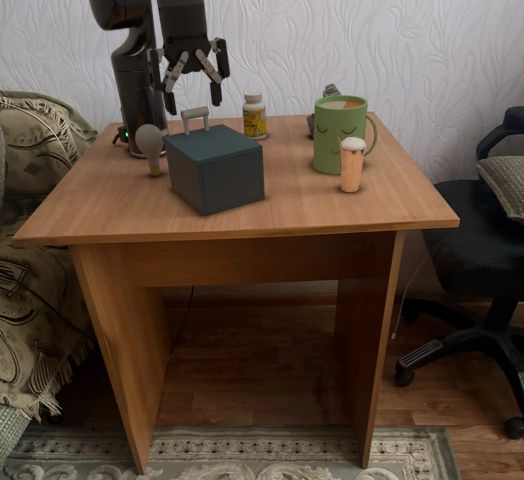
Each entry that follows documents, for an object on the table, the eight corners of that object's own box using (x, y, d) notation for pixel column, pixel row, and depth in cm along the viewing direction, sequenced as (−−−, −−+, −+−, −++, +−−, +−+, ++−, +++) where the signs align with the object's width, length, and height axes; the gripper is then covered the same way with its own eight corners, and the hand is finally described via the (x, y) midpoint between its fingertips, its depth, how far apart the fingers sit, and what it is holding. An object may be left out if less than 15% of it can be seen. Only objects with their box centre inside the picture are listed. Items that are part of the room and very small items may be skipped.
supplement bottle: (270, 134, 118) (269, 91, 112) (259, 141, 115) (257, 96, 108) (251, 132, 120) (249, 89, 114) (240, 138, 117) (236, 94, 111)
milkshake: (329, 187, 93) (332, 132, 86) (354, 182, 94) (359, 128, 88) (340, 196, 90) (344, 140, 83) (366, 191, 91) (371, 135, 84)
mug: (307, 172, 99) (308, 108, 91) (319, 154, 106) (321, 94, 99) (369, 177, 96) (376, 112, 88) (378, 158, 103) (384, 96, 95)
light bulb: (173, 171, 103) (165, 121, 96) (162, 181, 99) (153, 129, 92) (150, 169, 104) (140, 120, 98) (138, 179, 100) (127, 128, 94)
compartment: (172, 189, 96) (164, 142, 90) (229, 174, 100) (224, 129, 95) (203, 216, 86) (196, 166, 80) (264, 198, 91) (262, 150, 85)
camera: (309, 132, 123) (298, 91, 117) (342, 120, 122) (333, 77, 115) (317, 154, 111) (306, 109, 105) (354, 141, 110) (345, 95, 103)
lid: (162, 141, 91) (157, 112, 87) (223, 128, 95) (220, 100, 92) (196, 166, 80) (192, 134, 77) (262, 149, 85) (261, 119, 81)
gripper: (210, -6, 83) (220, 99, 93) (130, 4, 78) (150, 113, 88) (230, -3, 78) (239, 107, 88) (146, 7, 73) (165, 122, 83)
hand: (194, 110), depth 88 cm, fingers open, 8 cm apart
